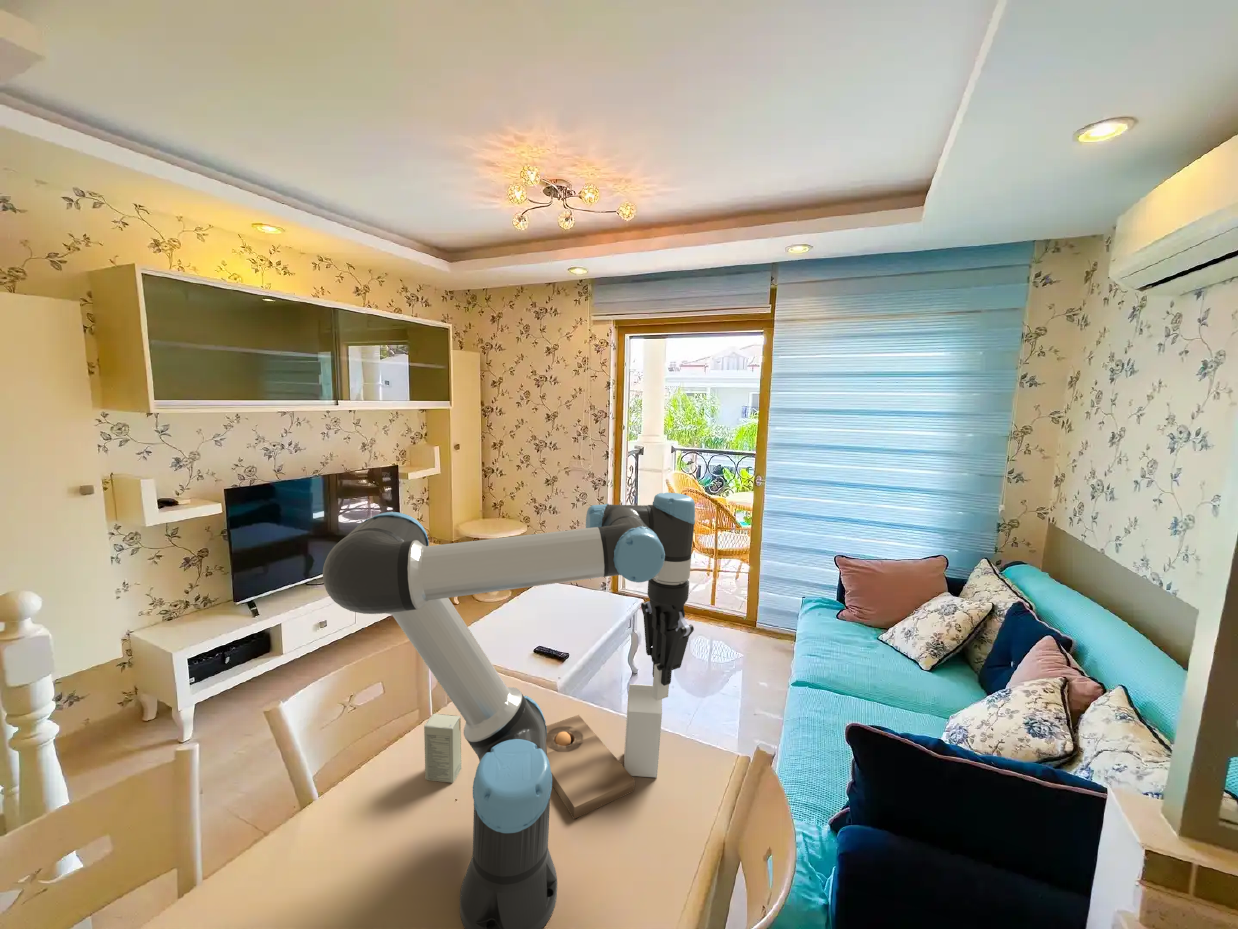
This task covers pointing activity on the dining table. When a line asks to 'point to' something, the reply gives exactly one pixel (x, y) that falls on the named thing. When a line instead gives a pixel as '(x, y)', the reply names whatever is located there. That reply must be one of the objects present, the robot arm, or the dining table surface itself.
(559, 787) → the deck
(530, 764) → the robot arm
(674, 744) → the dining table surface
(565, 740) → the ball
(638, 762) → the milk carton
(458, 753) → the skincare box
